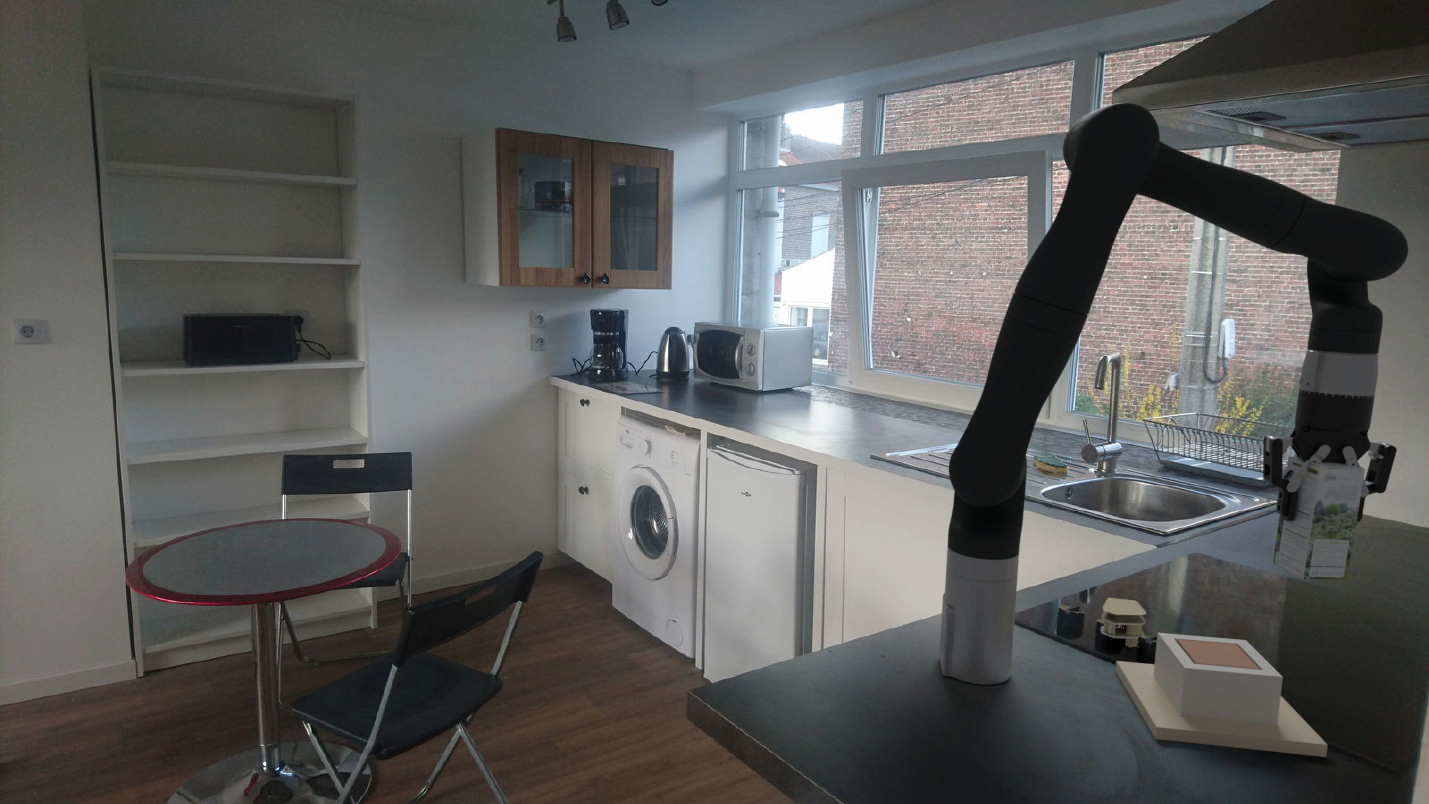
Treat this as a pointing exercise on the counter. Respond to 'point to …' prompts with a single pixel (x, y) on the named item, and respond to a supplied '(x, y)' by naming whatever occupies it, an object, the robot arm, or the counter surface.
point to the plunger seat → (1216, 654)
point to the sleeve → (1216, 701)
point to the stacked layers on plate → (1123, 620)
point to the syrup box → (1321, 522)
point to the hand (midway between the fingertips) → (1317, 521)
